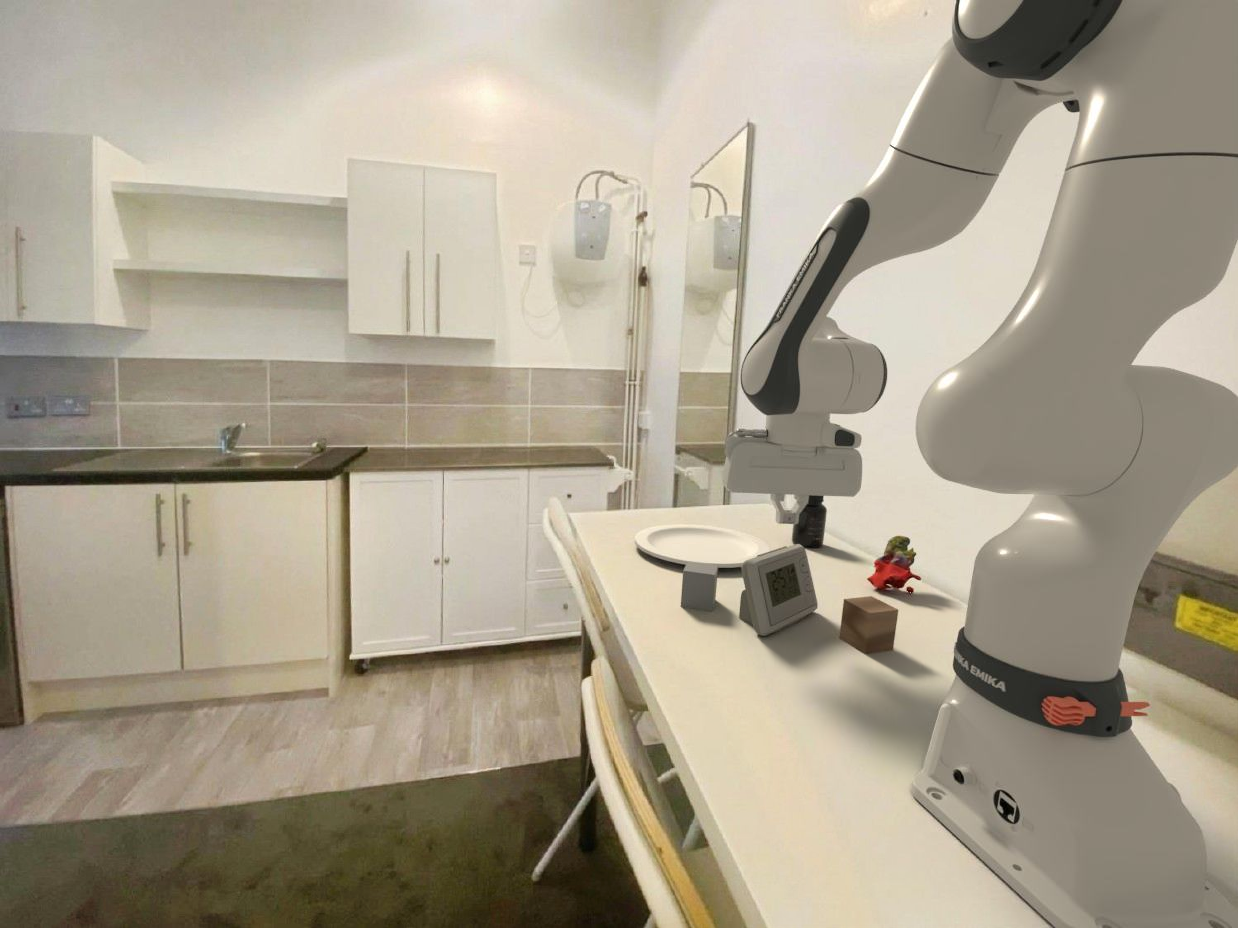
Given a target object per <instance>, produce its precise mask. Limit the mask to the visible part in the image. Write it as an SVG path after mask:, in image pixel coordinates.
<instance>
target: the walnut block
mask: <svg viewBox="0 0 1238 928" xmlns="http://www.w3.org/2000/svg"><path fill="white" fill-rule="evenodd" d="M898 616H899V609H898V608H896V607H893V606H892V605H890V604H887V603H886V602H884V601H882V600H880V599H878V598H876V597H874V596H873V595H869V596H862V597H861V596H859V597H852V598H844V599H843V604H842V612H841V621H840V622H841V623H840V630H839V637H838V638H839V640H841V641H843V642H845V643H846V644H847V645H849V646H851V647H852V648H853V649H856V650H857V651H859V652H860V653H862V655H863V654H864V655H869V654H878V653H882V652H890V651H894V645H895V637H896V630H897V623H898Z"/></svg>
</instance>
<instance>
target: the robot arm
mask: <svg viewBox="0 0 1238 928" xmlns="http://www.w3.org/2000/svg"><path fill="white" fill-rule="evenodd" d="M951 17H952V18H951V36H952V37H950V38H949V39H948V40H947V41H946V42H945V43H944V44H943V46H942V47H941V48H940V49H939V51H938V53H937V54H936V56H935V57H934V58H933V60H932V62H931V63H930V66H929V68H928V69H927V70H926V72H925V73H924V76H923V77H922V79H921V80H920V83H919V84H918V85H917V87H916V89H915V92H914V93H913V96H912V97H911V99H910V101H909V103H908V104H907V107H906V109H905V110H904V112H903V115H902V117H901V119H900V121H899V123H898V125H897V127H896V130H895V131H894V134H893V136H892V138H891V141H890V144H889V145H888V148H887V150H886V152H885V154H884V156H883V158H882V160H881V161H880V163H879V165H878V166H877V168H876V169H875V171H874V173H873V174H872V176H870V178H869V179H868V181H867V182H865V184H864V185H863V186H862V188H861V189H860V190H859V191H858V192H857V193H856V194H855V195H854V196H853V197H851V198H850V199H848V200H846V201H844V202H842V203H841V204H839V205H837V207H836V208H835V209H834V210H833V211H832V212H831V214H830V215H829V217H827V219H826V221H825V222H824V224H823V225H822V227H821V229H820V230H819V231H818V234H817V235H816V237H815V239H814V241H813V242H812V243H811V245H810V248H809V249H808V251H807V253H806V254H805V256H804V258H803V260H802V262H801V264H800V265H799V267H798V269H797V271H796V272H795V275H794V276H793V278H792V280H791V282H790V284H789V286H788V287H787V289H786V291H785V292H784V295H783V296H782V298H781V301H780V302H779V304H778V305H777V308H776V309H775V311H774V313H773V314H772V317H771V319H770V320H769V322H768V323H767V325H766V327H765V328H764V329H763V331H762V332H761V333H760V334H759V335H758V337H757V338H756V339H755V341H754V342H753V343H752V345H751V346H750V348H749V349H748V351H747V352H746V355H745V357H744V359H743V361H742V364H741V370H740V386H741V388H742V391H743V393H744V395H745V397H746V398H747V400H748V401H749V402H750V403H751V404H752V405H753V406H754V407H755V408H756V409H757V410H758V411H759V412H761V413H762V414H763V415H765V416H766V417H765V424H764V425H765V428H764V429H757V428H756V429H755V428H754V429H746V428H737V429H735V431H732V432H730V433H729V434H728V435H727V436H726V438H725V441H724V454H725V460H724V463H723V470H722V476H721V483H722V485H723V487H724V488H725V489H726V490H727V491H728V492H730V493H732V494H733V493H734V494H760V495H761V494H765V495H769V496H770V497H769V499H770V502H771V503H772V505H773V507H774V509H775V522H776V523H777V524H778V525H779V524H780V525H784V524H785V525H793V524H798V522H799V513H801V511H802V510H803V509H804V507H805V506H806V505H807V503H808V499H809V495H816V496H824V497H847V498H850V497H851V498H852V497H855V496H857V495H858V494H859V492H860V490H861V486H862V480H863V457H862V455H861V453H860V451H859V450H857V448H860V446H861V444H862V439H863V438H862V435H861V434H860V433H858V432H857V431H853V430H851V429H848V428H846V427H843V426H841V425H840V424H837V423H832V422H831V419H830V418H831V414H832V415H836V414H837V415H856V414H860V413H866V412H868V411H870V410H871V409H872V408H874V407H875V406H876V405H877V403H878V402H879V401H880V400H881V398H882V396H883V394H884V392H885V389H886V387H887V382H888V367H887V366H888V365H887V361H886V359H885V357H884V354H883V352H882V351H881V350H880V348H879V347H878V346H877V345H875V344H873V343H870V342H866V341H863V340H861V339H858V338H855V337H853V336H851V335H849V334H847V333H846V332H844V331H843V330H841V329H840V328H839V326H838V324H837V322H836V320H835V319H833V318H831V317H828V315H829V313H830V311H831V310H832V307H833V306H834V305H835V303H836V301H837V300H838V298H839V296H840V295H841V294H842V291H844V289H845V287H846V286H847V285H848V284H849V283H850V282H852V280H853V279H855V278H856V277H858V275H860V274H862V273H864V272H865V271H867V270H869V269H871V268H872V267H875V266H877V265H881V264H883V263H886V262H887V261H891V260H893V259H897V258H900V257H904V256H909V255H912V254H917V253H922V252H925V251H928V250H931V249H933V248H936V247H939V246H940V245H942V244H944V243H946V242H948V241H950V240H952V239H953V238H955V237H957V236H958V235H959V234H961V233H962V232H964V230H965V229H966V228H967V227H968V226H969V225H970V223H971V222H972V221H973V220H974V219H975V217H977V215H978V213H979V212H980V211H981V209H982V208H983V205H984V204H985V202H986V201H987V199H988V198H989V195H990V194H991V192H992V191H993V188H994V186H995V185H996V182H997V180H998V179H999V177H1000V174H1001V172H1002V171H1003V169H1004V167H1005V165H1006V164H1007V161H1008V160H1009V158H1010V156H1011V153H1012V151H1013V149H1014V148H1015V145H1016V144H1017V141H1018V139H1019V138H1020V136H1021V135H1022V134H1023V132H1024V130H1025V129H1026V128H1027V126H1028V125H1029V124H1030V122H1031V121H1032V120H1033V119H1034V118H1035V117H1036V116H1037V115H1038V114H1040V113H1041V112H1043V111H1045V110H1046V109H1049V108H1050V107H1052V106H1054V105H1057V104H1061V103H1062V105H1063V106H1064V108H1065V109H1066V111H1067V112H1070V113H1073V114H1074V113H1079V116H1078V122H1077V128H1076V133H1075V136H1074V138H1073V139H1074V140H1073V141H1072V145H1071V149H1070V152H1069V155H1068V158H1067V161H1066V164H1065V165H1066V166H1065V169H1064V173H1063V176H1062V180H1061V183H1060V186H1059V191H1058V192H1057V193H1058V194H1057V196H1056V200H1055V204H1054V208H1053V211H1052V214H1051V217H1050V220H1049V225H1048V227H1047V230H1046V232H1045V233H1046V234H1045V237H1044V240H1043V243H1042V245H1041V249H1040V252H1039V255H1038V257H1037V262H1036V264H1035V267H1034V270H1033V271H1032V273H1031V275H1030V278H1029V280H1028V282H1027V285H1026V286H1025V288H1024V290H1023V292H1022V293H1021V295H1020V297H1019V299H1018V300H1017V302H1016V303H1015V305H1014V306H1013V308H1011V311H1010V312H1009V313H1008V315H1007V316H1006V317H1005V319H1004V320H1003V322H1002V323H1001V324H1000V325H999V327H997V329H996V330H995V331H993V334H992V335H990V337H988V339H986V341H985V342H984V343H983V344H981V346H980V347H978V349H976V350H975V351H973V352H972V353H971V354H970V355H968V356H967V357H966V358H964V359H962V360H961V361H960V362H958V363H957V364H954V365H953V366H951V367H950V368H947V369H946V370H944V371H943V372H942V373H941V374H939V375H938V376H937V377H936V378H935V380H934V381H933V382H932V383H931V384H930V385H929V386H928V388H927V390H926V391H925V393H924V395H923V396H922V398H921V400H920V403H919V406H918V409H917V413H916V416H915V437H916V443H917V445H918V449H919V452H920V454H921V456H922V458H923V459H924V461H925V463H926V464H927V466H928V467H929V468H930V469H931V471H932V472H933V473H934V474H935V475H937V476H938V477H939V478H940V479H942V480H946V481H947V482H952V483H955V484H960V485H963V486H966V487H970V488H975V489H978V490H983V491H988V492H992V493H997V494H1003V495H1004V494H1005V495H1006V494H1007V495H1033V496H1032V499H1031V501H1030V502H1029V504H1028V506H1027V507H1026V508H1025V510H1024V511H1023V513H1022V514H1021V515H1020V516H1019V517H1018V519H1016V521H1015V522H1013V524H1011V525H1010V527H1009V526H1008V528H1007V529H1005V530H1003V531H1001V532H999V533H998V534H997V535H994V536H993V537H992V538H990V539H989V540H988V541H987V542H985V543H984V544H983V546H982V547H981V548H980V549H979V551H978V552H977V554H976V556H975V559H974V561H973V562H974V563H973V568H972V569H973V570H972V576H971V581H970V583H971V584H970V588H969V596H968V601H967V602H968V603H967V608H966V615H965V621H964V626H962V627H961V628H960V629H959V630H958V633H957V638H956V641H955V642H954V647H953V661H952V668H953V671H954V674H955V676H954V680H953V682H952V684H951V687H950V688H949V691H948V693H947V694H946V696H945V698H944V700H943V702H942V703H941V705H940V708H939V711H938V714H937V718H936V721H935V724H934V728H933V731H932V734H931V738H930V742H929V746H928V749H927V753H926V754H925V756H924V758H923V761H922V769H921V770H920V771H919V772H917V774H916V775H915V776H914V777H913V779H912V783H911V785H910V793H911V795H912V796H913V797H914V799H916V800H917V801H918V802H919V803H920V804H921V805H922V806H923V807H925V808H926V809H927V810H928V811H929V812H930V813H931V814H932V815H933V816H934V817H935V818H936V819H937V820H939V822H940V823H942V824H943V825H944V826H945V827H946V828H947V829H948V830H950V832H951V833H952V834H954V835H955V837H957V839H959V840H960V841H961V842H962V843H963V844H964V845H965V846H967V848H968V849H970V850H971V851H972V852H973V853H974V854H975V855H976V856H977V857H978V858H979V859H981V861H982V862H984V863H985V864H986V865H987V866H988V867H989V868H990V869H992V871H993V872H995V874H997V876H999V877H1000V878H1001V879H1002V880H1003V881H1004V882H1005V883H1006V884H1008V885H1009V886H1010V887H1011V888H1012V889H1013V890H1014V891H1015V892H1016V893H1018V895H1019V896H1021V897H1022V898H1023V899H1024V901H1026V902H1027V903H1028V904H1029V905H1030V906H1031V907H1032V908H1033V909H1035V910H1036V911H1037V913H1039V915H1041V916H1042V917H1043V918H1044V919H1046V921H1047V922H1048V923H1049V924H1051V925H1052V926H1053V927H1054V928H1238V909H1237V908H1236V907H1235V906H1234V905H1233V904H1232V903H1231V902H1230V901H1229V900H1228V899H1227V898H1226V897H1225V896H1224V895H1223V894H1222V893H1221V892H1220V891H1219V890H1218V889H1217V888H1216V887H1215V886H1214V885H1213V884H1212V883H1211V882H1209V880H1208V879H1207V848H1206V847H1207V846H1206V840H1205V837H1204V834H1203V830H1202V828H1201V826H1200V824H1199V823H1198V821H1197V820H1196V819H1195V817H1194V816H1193V815H1192V813H1191V812H1190V811H1189V808H1188V807H1187V806H1186V805H1185V804H1184V802H1183V801H1182V797H1181V794H1180V793H1179V791H1178V789H1177V788H1176V787H1175V786H1174V785H1173V784H1172V783H1171V782H1168V780H1167V779H1166V777H1165V776H1164V775H1163V772H1162V771H1161V769H1159V768H1158V765H1157V764H1156V762H1154V760H1153V759H1152V758H1151V756H1150V755H1149V754H1148V752H1147V750H1146V749H1145V747H1144V746H1143V745H1142V744H1141V742H1140V740H1139V739H1138V738H1137V736H1136V735H1135V733H1134V731H1133V730H1132V726H1133V719H1132V718H1133V717H1148V716H1149V715H1148V713H1147V712H1143V711H1140V710H1142V709H1146V708H1150V706H1151V704H1150V703H1149V702H1147V701H1129V696H1128V691H1127V687H1126V682H1125V678H1124V677H1125V676H1124V674H1123V672H1122V670H1121V668H1120V662H1121V657H1122V653H1123V649H1124V644H1125V640H1126V639H1125V638H1126V635H1127V631H1128V627H1129V621H1130V620H1131V619H1130V618H1131V615H1132V611H1133V606H1134V601H1135V598H1136V595H1137V592H1138V588H1139V585H1140V584H1141V580H1142V578H1143V576H1144V574H1145V571H1146V570H1147V567H1148V566H1149V564H1150V562H1151V561H1152V558H1153V557H1154V555H1155V553H1156V552H1157V550H1158V549H1159V547H1160V545H1161V544H1162V542H1163V541H1164V539H1165V537H1166V536H1167V535H1168V533H1169V531H1170V530H1171V529H1172V527H1173V526H1174V525H1175V523H1176V522H1177V520H1178V519H1179V518H1180V516H1181V515H1182V514H1183V513H1184V512H1185V510H1186V509H1187V508H1188V507H1189V505H1191V504H1192V502H1193V501H1195V500H1196V499H1197V498H1198V497H1199V496H1201V494H1202V493H1204V492H1205V491H1206V490H1208V489H1209V488H1211V487H1212V486H1214V485H1215V484H1218V483H1220V481H1222V480H1224V479H1225V478H1227V477H1228V476H1230V474H1232V473H1233V472H1234V471H1235V470H1236V469H1237V468H1238V395H1237V394H1236V393H1235V392H1233V391H1232V390H1231V389H1229V388H1228V387H1226V386H1224V385H1222V384H1220V383H1218V382H1214V381H1211V380H1209V379H1207V378H1203V377H1200V376H1198V375H1194V374H1191V373H1188V372H1184V371H1182V370H1178V369H1174V368H1171V367H1166V366H1156V365H1154V366H1153V365H1141V364H1140V365H1138V364H1133V363H1134V361H1135V359H1136V358H1137V357H1138V355H1139V353H1140V352H1141V350H1143V348H1144V346H1145V345H1146V344H1147V342H1148V341H1149V340H1150V339H1151V338H1152V337H1153V335H1154V334H1155V333H1156V332H1157V331H1158V330H1159V329H1160V328H1161V327H1162V326H1163V325H1164V324H1165V323H1166V322H1167V321H1169V319H1171V318H1172V317H1173V316H1174V315H1176V314H1177V313H1179V312H1181V311H1182V310H1184V309H1186V308H1189V307H1191V306H1193V305H1195V304H1197V303H1199V302H1201V300H1203V299H1205V298H1206V297H1208V295H1210V294H1211V293H1212V292H1213V291H1214V290H1215V289H1216V288H1217V287H1218V286H1219V284H1221V282H1222V281H1223V279H1224V278H1225V276H1226V273H1227V271H1228V268H1229V265H1230V262H1231V260H1232V257H1233V255H1234V252H1235V248H1236V246H1237V244H1238V0H955V2H954V7H953V11H952V16H951ZM786 495H789V496H790V495H791V496H793V499H794V500H795V503H794V504H793V506H792V507H791V509H790V510H789V509H784V507H783V505H782V503H781V502H784V501H785V496H786ZM1137 710H1138V711H1137Z"/></svg>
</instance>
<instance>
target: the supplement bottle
mask: <svg viewBox="0 0 1238 928" xmlns="http://www.w3.org/2000/svg"><path fill="white" fill-rule="evenodd" d="M824 498H825V496H816V495H809V499H808V503H807V505H806V506H805V507H804V509H803V510H802V511H801V513H799V522H798V524H792V532H791V533H792V534H791V542H792V543H793V545H795V544H800V545H802V546H803V547H804V548H805V549H806V548H807V549H819V548H822V546H824V545H823V544H824V538H825V530H826V521H827V512H828V509H827V507H826V506H825V505H824V504H823V503H824V500H825V499H824Z"/></svg>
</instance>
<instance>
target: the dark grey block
mask: <svg viewBox="0 0 1238 928" xmlns="http://www.w3.org/2000/svg"><path fill="white" fill-rule="evenodd" d="M682 570H683V571H682V580H681V583H682V584H681V597H680V607H681V608H689V609H693V610H694V609H695V610H700V611H701V610H702V611H708V612H713V609H714V606H715V602H716V596H717V595H716V594H717V585H718V573H719V568H718V565H713V564H706V563H698V562H690V561H688V562H687V564H686V565H685V566H684V568H683V569H682Z"/></svg>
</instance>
